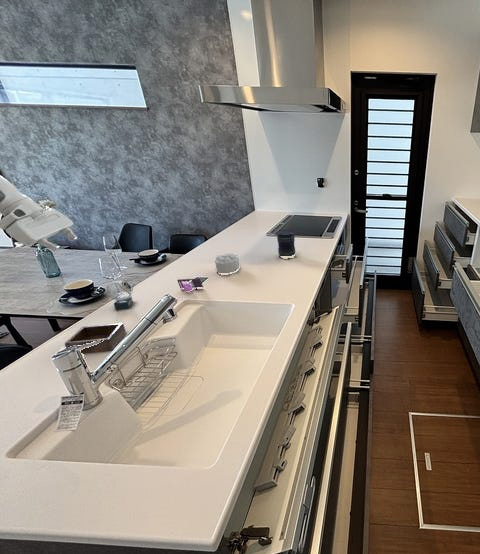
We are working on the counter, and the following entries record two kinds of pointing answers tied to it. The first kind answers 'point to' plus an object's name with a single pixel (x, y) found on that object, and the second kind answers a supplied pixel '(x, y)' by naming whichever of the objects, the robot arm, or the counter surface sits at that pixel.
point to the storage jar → (286, 242)
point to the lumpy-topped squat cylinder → (227, 264)
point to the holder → (98, 337)
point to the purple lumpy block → (188, 287)
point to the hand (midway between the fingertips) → (66, 244)
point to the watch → (121, 301)
